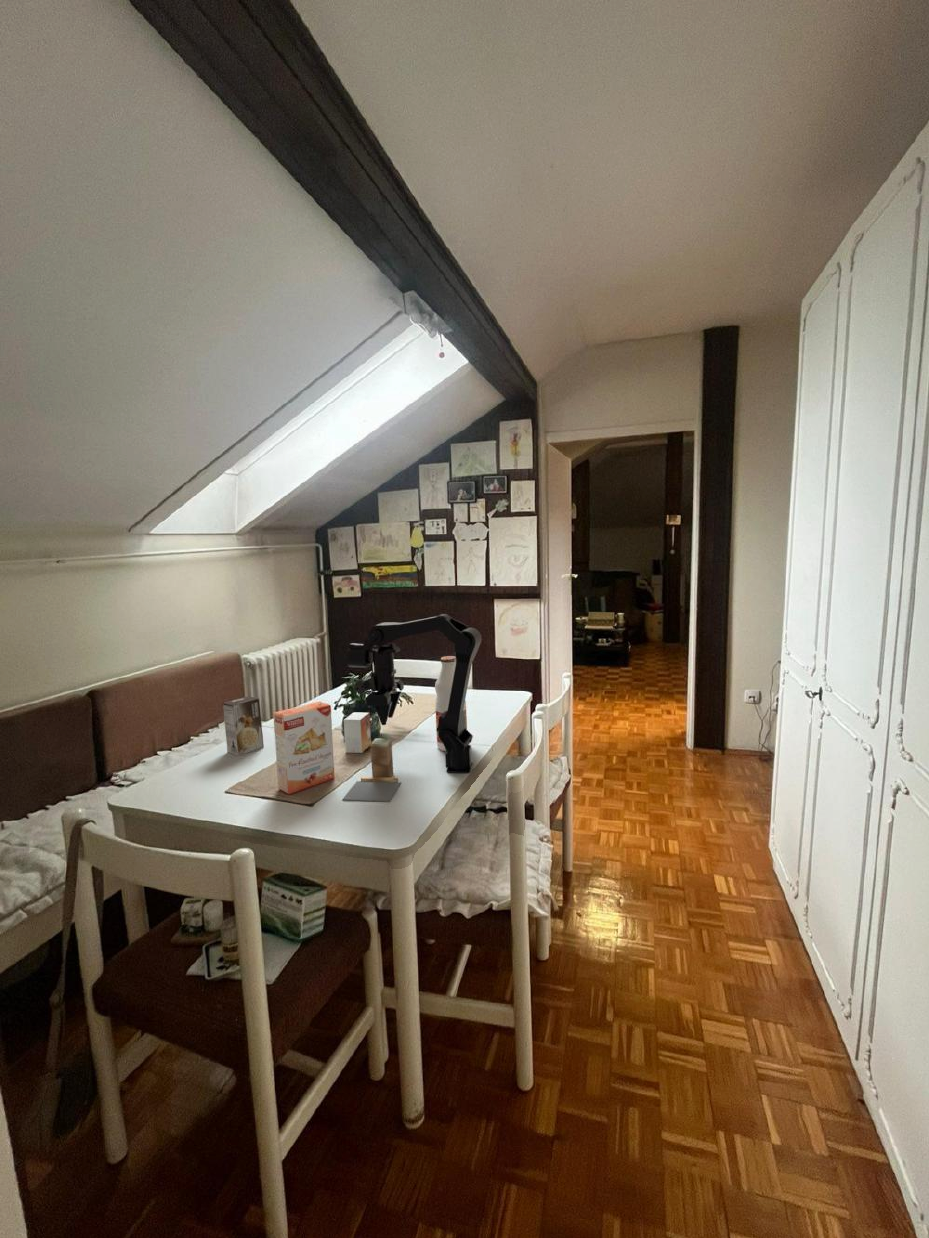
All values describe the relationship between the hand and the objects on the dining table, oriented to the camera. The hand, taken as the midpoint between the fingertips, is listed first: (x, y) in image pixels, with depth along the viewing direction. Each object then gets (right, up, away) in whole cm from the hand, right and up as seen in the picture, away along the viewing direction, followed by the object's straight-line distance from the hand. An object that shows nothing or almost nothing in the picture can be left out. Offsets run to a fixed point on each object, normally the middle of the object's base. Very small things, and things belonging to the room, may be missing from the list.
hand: (387, 721), depth 167 cm
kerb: (0, -14, -11) cm, 18 cm away
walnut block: (0, -14, -8) cm, 16 cm away
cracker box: (-20, -15, -11) cm, 27 cm away
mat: (-1, -15, -18) cm, 23 cm away
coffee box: (-47, -12, +17) cm, 51 cm away
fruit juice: (+18, -10, +13) cm, 25 cm away
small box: (-11, -11, +15) cm, 21 cm away
